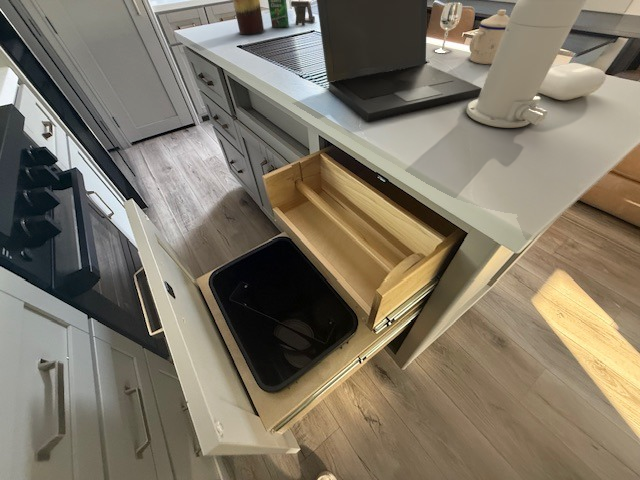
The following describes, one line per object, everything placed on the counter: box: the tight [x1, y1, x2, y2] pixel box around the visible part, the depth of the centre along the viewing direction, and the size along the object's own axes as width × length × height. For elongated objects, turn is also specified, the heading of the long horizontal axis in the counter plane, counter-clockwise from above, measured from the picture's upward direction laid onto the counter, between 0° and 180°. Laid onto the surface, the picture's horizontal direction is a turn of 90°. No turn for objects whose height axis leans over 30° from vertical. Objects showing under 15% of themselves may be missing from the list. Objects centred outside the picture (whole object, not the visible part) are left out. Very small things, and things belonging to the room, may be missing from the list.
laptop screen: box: [316, 0, 428, 83], centre depth 67 cm, size 21×30×1 cm
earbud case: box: [537, 62, 607, 101], centre depth 61 cm, size 10×13×5 cm
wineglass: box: [434, 1, 463, 54], centre depth 84 cm, size 6×6×12 cm
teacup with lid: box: [469, 9, 510, 65], centre depth 77 cm, size 12×9×12 cm
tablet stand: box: [290, 0, 316, 26], centre depth 124 cm, size 9×8×8 cm
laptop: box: [328, 63, 483, 123], centre depth 66 cm, size 21×30×2 cm
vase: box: [232, 0, 265, 36], centre depth 112 cm, size 11×11×20 cm
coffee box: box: [267, 0, 290, 29], centre depth 119 cm, size 8×3×13 cm, turn 70°
